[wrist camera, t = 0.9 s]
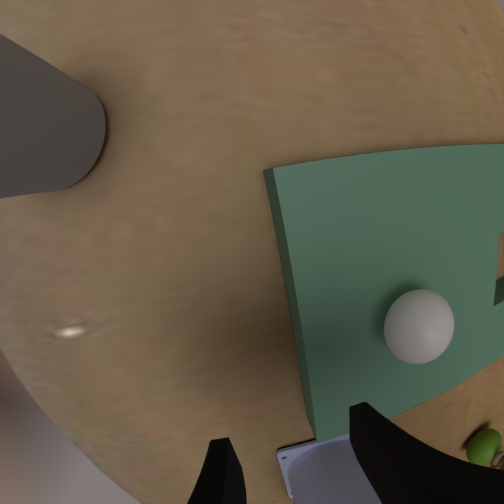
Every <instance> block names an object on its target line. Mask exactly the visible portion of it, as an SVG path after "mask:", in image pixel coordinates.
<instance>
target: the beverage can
mask: <svg viewBox="0 0 504 504" xmlns="http://www.w3.org/2000/svg"><path fill="white" fill-rule="evenodd" d="M105 129H106V122H105V114H104V110H103V107H102V104H101V102H100V101H99V99H98V97H97V96H96V95H95V94H94V93H93V92H92V91H91V90H90V89H88V88H87V87H85V86H84V85H82V84H80V83H79V82H77V81H76V80H74V79H73V78H71V77H70V76H68V75H67V74H65V73H63V72H62V71H60V70H59V69H57V68H56V67H54V66H52V65H51V64H49V63H48V62H46V61H44V60H43V59H41V58H39V57H38V56H36V55H35V54H33V53H31V52H30V51H28V50H26V49H25V48H23V47H21V46H20V45H18V44H16V43H15V42H13V41H11V40H10V39H8V38H6V37H5V36H3V35H1V34H0V198H5V197H12V196H19V195H26V194H33V193H41V192H49V191H57V190H62V189H65V188H68V187H70V186H72V185H74V184H75V183H77V182H78V181H79V180H81V179H82V178H83V177H84V176H85V175H86V174H87V173H88V172H89V170H90V169H91V168H92V166H93V165H94V163H95V162H96V160H97V158H98V156H99V154H100V151H101V149H102V146H103V142H104V137H105Z"/></svg>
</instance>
